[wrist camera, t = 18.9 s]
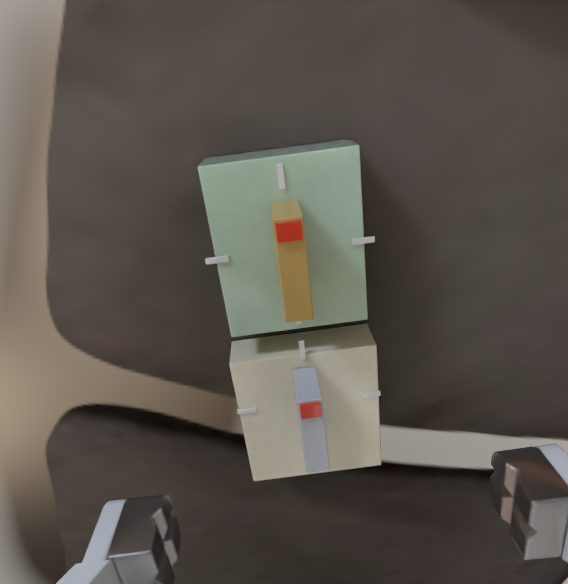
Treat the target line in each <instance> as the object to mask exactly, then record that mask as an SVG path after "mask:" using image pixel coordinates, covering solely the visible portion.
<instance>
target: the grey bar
mask: <svg viewBox="0 0 568 584" xmlns="http://www.w3.org/2000/svg"><path fill="white" fill-rule="evenodd" d="M293 377H294V385H295V394H296V403H297V410H298V417H299V424H300V431H301V438H302V445H303V452H304V459H305V466H306V472H316V471H324V470H329V469H330V463H329V454H328V445H327V436H326V427H325V418H324V409H323V400H322V395H321V389H320V384H319V379H318V374H317V369H316V367H307V368H299V369H293Z"/></svg>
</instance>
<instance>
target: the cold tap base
mask: <svg viewBox="0 0 568 584" xmlns="http://www.w3.org/2000/svg"><path fill="white" fill-rule="evenodd" d="M229 366H230V371H231V375H232V380H233V385H234V390H235V395H236V399H237V404H238V409H237V414H240V418H241V423H242V428H243V433H244V438H245V442H246V447H247V452H248V457H249V462H250V466H251V471H252V476H253V481H260V480H268V479H276V478H283V477H291V476H299V475H307V474H315V473H322V472H330V471H338V470H346V469H353V468H361V467H369V466H377V465H381V444H380V419H379V396H381V392H380V391H378V368H377V345H376V343H375V341H374V338H373V336H372V334H371V332H370V329H369V327H368V325H367V324H360V325H352V326H345V327H337V328H329V329H322V330H314V331H306V332H299V333H291V334H283V335H276V336H268V337H260V338H253V339H245V340H237V341H232V343H231V353H230V362H229ZM307 367H316V369H317V374H318V379H319V384H320V389H321V395H322V400H323V409H324V418H325V427H326V436H327V445H328V454H329V463H330V469H329V470H324V471H316V472H306V466H305V459H304V452H303V445H302V438H301V431H300V424H299V417H298V410H297V403H296V394H295V385H294V377H293V369H299V368H307Z"/></svg>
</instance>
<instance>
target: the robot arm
mask: <svg viewBox="0 0 568 584" xmlns="http://www.w3.org/2000/svg"><path fill="white" fill-rule="evenodd" d="M491 464H492V466H493V468H494V469H495V472H494V473H493V474H492V475H491V477H490V487H489V488H490V493H491V497H492V501H493V503H494V506H495V508H496V510H497V512H498V514H499V516H500V517H501V518H502V519H504V520H505V521H507V522H508V523H510V524H511V528H510V535H511V537H512V539H513V540H514V542H515V544H516V546H517V547H518V549H519V551H520V553H521V554H522V556H523V558H524V560H529V559H540V558H550V557H560V556H562V559H563V560H564V561H566V562H567V563H568V455H567V454H566V453H565V452H564V450H563V449H562V448H561V447H560V446H559V445H556V444H550V445H542V446H535V447H526V448H519V449H513V450H505V451H498V452H494V454H493V455H492V460H491ZM172 506H173V504H172V501H171V498H170V496H169V495H158V496H149V497H139V498H129V499H122V500H113V501H108V502H107V503H106V504H105V505H104V507H103V509H102V512H101V514H100V517H99V520H98V522H97V525H96V527H95V530H94V533H93V535H92V538H91V540H90V543H89V546H88V548H87V551H86V554H85V556H84V559H83V561H82V563H78V564H75V565H74V566H73V567H72V568H71V569H70V570H69V571H68V572H67V573H66V574H65V575H64V576H63V577H62V578H61V579H60V580H59V581H58V582H57V583H56V584H174V578H175V576H174V573H173V569H172V565H173V564H174V563H175V562H176V560H177V559H178V556H179V549H180V529H179V523H178V520H177V517H175V516H174V515H173V514H171V511H172Z"/></svg>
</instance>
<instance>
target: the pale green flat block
mask: <svg viewBox="0 0 568 584" xmlns="http://www.w3.org/2000/svg"><path fill="white" fill-rule="evenodd" d="M198 173H199V178H200V183H201V188H202V193H203V198H204V203H205V208H206V213H207V218H208V223H209V228H210V233H211V238H212V243H213V248H214V253H215V257H211V258H205V262H206V264H214V263H217V268H218V273H219V278H220V283H221V288H222V293H223V298H224V303H225V308H226V313H227V318H228V323H229V328H230V333H231V337H237V336H245V335H252V334H260V333H268V332H275V331H283V330H291V329H298V328H306V327H314V326H321V325H329V324H337V323H344V322H352V321H360V320H367V319H368V312H367V291H366V270H365V249H364V244H365V243H373V242H375V237H374V236H370V237H364V228H363V208H362V187H361V166H360V146H359V145H358V144H356V143H355V142H353V141H352V140H350V139H345V140H338V141H330V142H323V143H315V144H308V145H300V146H293V147H285V148H278V149H270V150H263V151H256V152H248V153H241V154H233V155H226V156H218V157H211V158H204V159H203V160H202V162H201V163H200V164H199V166H198ZM289 200H298V201H299V204H300V208H301V211H302V214H303V217H304V227H305V237H306V247H307V257H308V267H309V277H310V287H311V297H312V307H313V317H314V318H313V319H312V320H305V321H297V322H289V323H286V322H285V316H284V309H283V301H282V294H281V286H280V278H279V271H278V263H277V256H276V248H275V240H274V233H273V225H272V216H271V205H270V204H271V203H274V202H282V201H289Z"/></svg>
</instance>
